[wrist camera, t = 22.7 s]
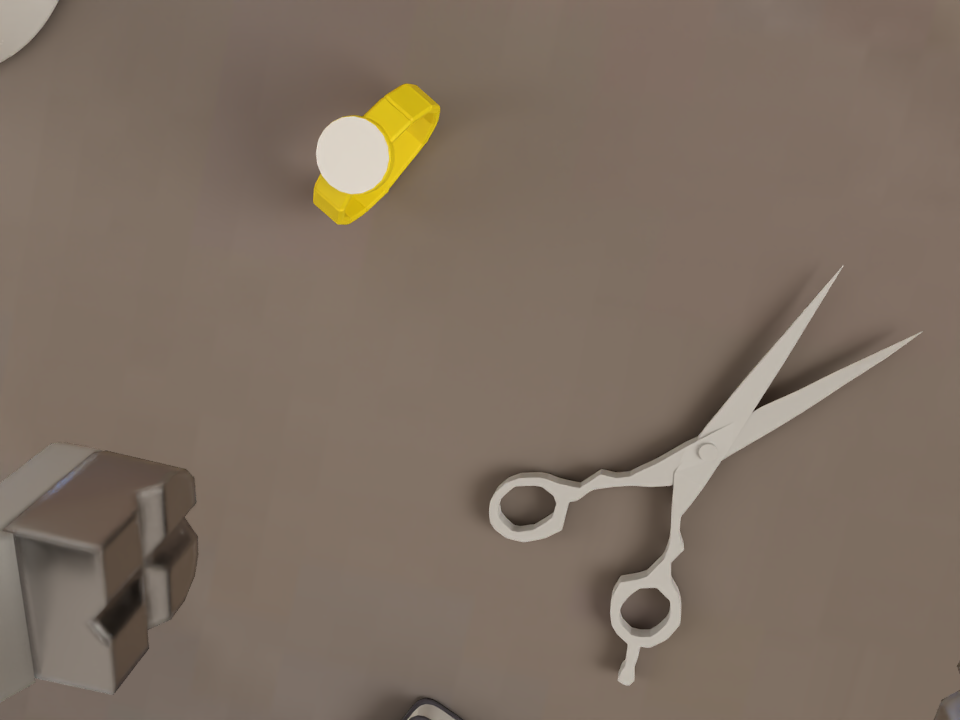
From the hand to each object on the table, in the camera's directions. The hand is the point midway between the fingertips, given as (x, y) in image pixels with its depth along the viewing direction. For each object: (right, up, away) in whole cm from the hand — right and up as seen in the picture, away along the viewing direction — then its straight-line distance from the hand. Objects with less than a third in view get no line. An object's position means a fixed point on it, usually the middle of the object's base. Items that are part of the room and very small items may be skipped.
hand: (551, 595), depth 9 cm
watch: (-4, +11, +28) cm, 30 cm away
